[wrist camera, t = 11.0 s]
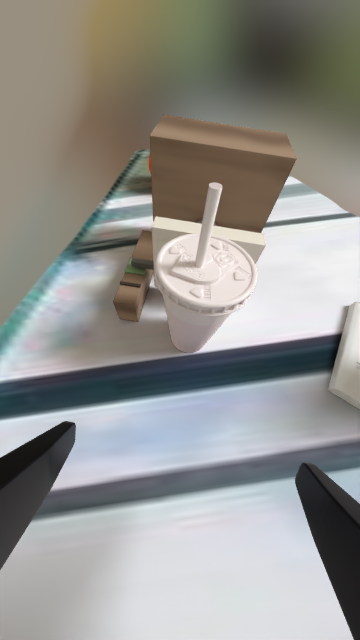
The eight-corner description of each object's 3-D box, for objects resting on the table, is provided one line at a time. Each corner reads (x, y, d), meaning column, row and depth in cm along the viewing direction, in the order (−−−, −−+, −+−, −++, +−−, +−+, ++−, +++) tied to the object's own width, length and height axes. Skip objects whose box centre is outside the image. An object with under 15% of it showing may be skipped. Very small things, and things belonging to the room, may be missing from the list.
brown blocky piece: (245, 339, 20) (331, 240, 10) (119, 318, 20) (75, 198, 10) (242, 241, 29) (286, 133, 19) (153, 226, 29) (148, 112, 19)
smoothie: (149, 319, 21) (132, 157, 9) (203, 304, 22) (250, 149, 10) (170, 375, 18) (186, 246, 6) (230, 353, 19) (340, 216, 7)
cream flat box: (236, 299, 21) (265, 245, 15) (133, 282, 21) (121, 222, 15) (236, 289, 22) (263, 233, 16) (136, 273, 22) (127, 211, 16)
